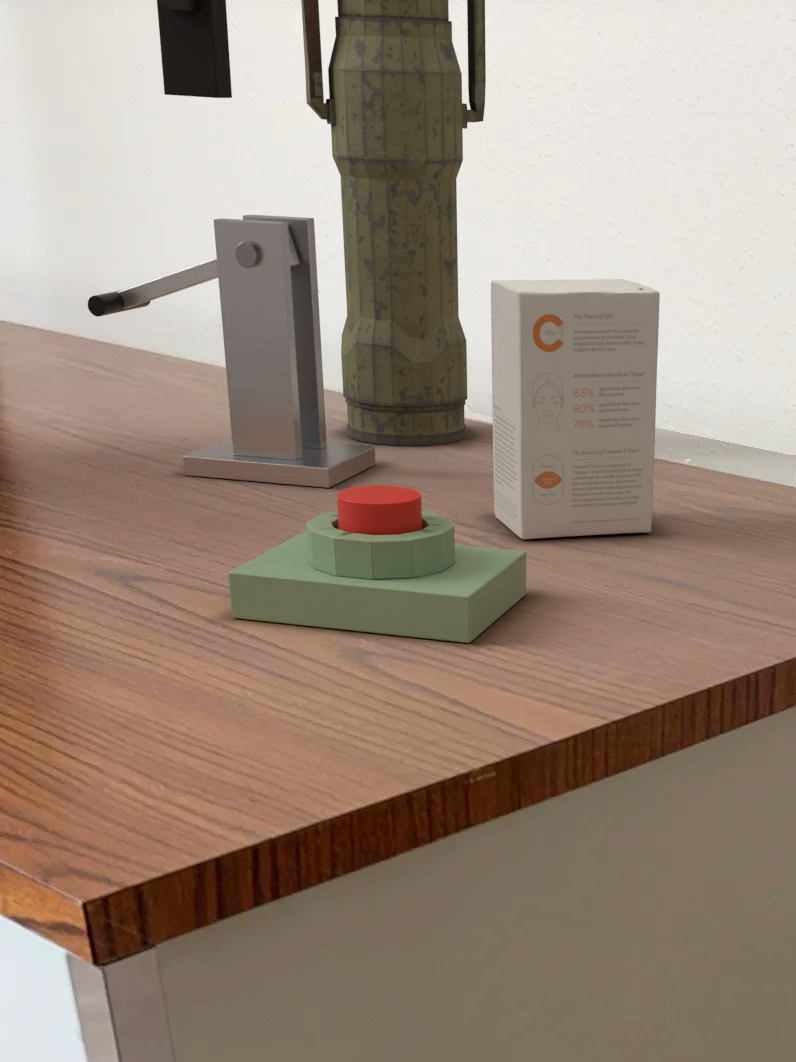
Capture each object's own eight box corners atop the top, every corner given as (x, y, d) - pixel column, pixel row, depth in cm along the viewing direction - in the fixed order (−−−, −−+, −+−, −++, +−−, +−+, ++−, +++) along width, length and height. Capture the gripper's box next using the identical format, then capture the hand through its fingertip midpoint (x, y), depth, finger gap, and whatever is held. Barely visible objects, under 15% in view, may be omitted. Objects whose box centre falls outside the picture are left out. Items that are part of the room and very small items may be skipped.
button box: (231, 618, 79) (223, 532, 77) (307, 572, 86) (302, 494, 84) (469, 643, 76) (468, 556, 74) (526, 594, 84) (526, 514, 82)
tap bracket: (184, 475, 106) (158, 218, 98) (238, 452, 113) (218, 210, 105) (329, 488, 104) (314, 227, 96) (376, 464, 111) (365, 218, 103)
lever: (96, 328, 104) (80, 288, 103) (142, 318, 109) (128, 279, 108) (272, 269, 99) (258, 226, 98) (312, 261, 104) (299, 220, 103)
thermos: (312, 426, 122) (277, -157, 104) (464, 420, 126) (456, -142, 108) (341, 449, 115) (309, -172, 97) (502, 442, 119) (499, -156, 101)
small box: (618, 510, 101) (625, 277, 94) (653, 534, 96) (663, 290, 89) (490, 516, 99) (488, 277, 92) (519, 541, 93) (519, 290, 87)
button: (325, 537, 78) (323, 499, 77) (357, 519, 82) (355, 482, 81) (404, 544, 77) (403, 506, 76) (434, 526, 81) (432, 489, 80)
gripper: (154, -658, 59) (207, 101, 71) (304, -541, 70) (328, 100, 82) (-33, -652, 60) (51, 91, 73) (143, -538, 71) (190, 91, 83)
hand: (198, 95), depth 77 cm, fingers closed
